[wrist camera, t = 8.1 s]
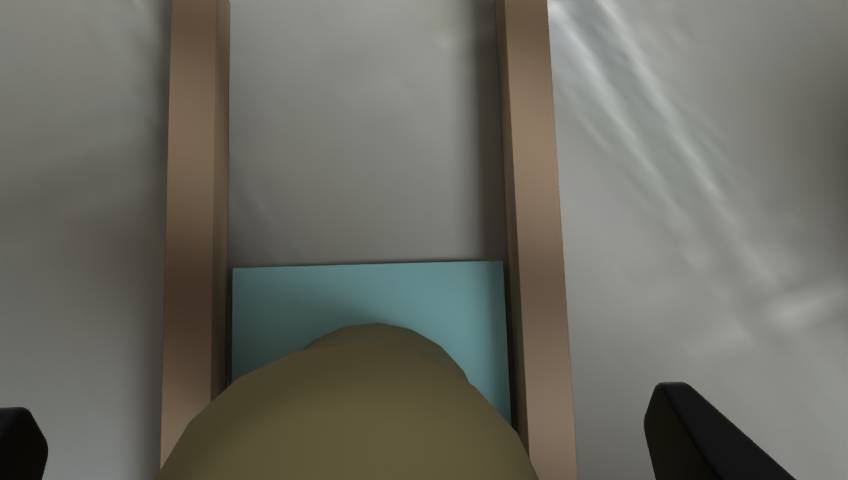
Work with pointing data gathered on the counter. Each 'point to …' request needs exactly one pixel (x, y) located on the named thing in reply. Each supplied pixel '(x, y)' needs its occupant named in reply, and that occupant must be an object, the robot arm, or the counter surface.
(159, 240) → the counter surface
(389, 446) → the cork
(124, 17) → the counter surface
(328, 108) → the counter surface
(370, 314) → the rail track
